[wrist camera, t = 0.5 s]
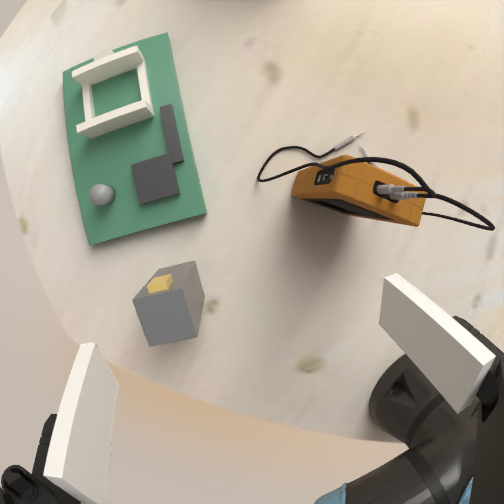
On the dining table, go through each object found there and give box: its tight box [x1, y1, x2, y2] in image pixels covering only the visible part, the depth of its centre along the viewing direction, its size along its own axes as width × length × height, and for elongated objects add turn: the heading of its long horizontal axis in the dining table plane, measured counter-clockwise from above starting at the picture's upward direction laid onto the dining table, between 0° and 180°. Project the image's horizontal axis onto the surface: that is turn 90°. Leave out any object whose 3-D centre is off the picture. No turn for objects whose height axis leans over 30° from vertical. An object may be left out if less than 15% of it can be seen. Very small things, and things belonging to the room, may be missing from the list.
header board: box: [63, 33, 207, 246], centre depth 25 cm, size 21×13×5 cm, turn 13°
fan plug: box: [133, 261, 205, 346], centre depth 26 cm, size 5×4×10 cm
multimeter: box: [257, 131, 495, 231], centre depth 21 cm, size 15×10×20 cm
